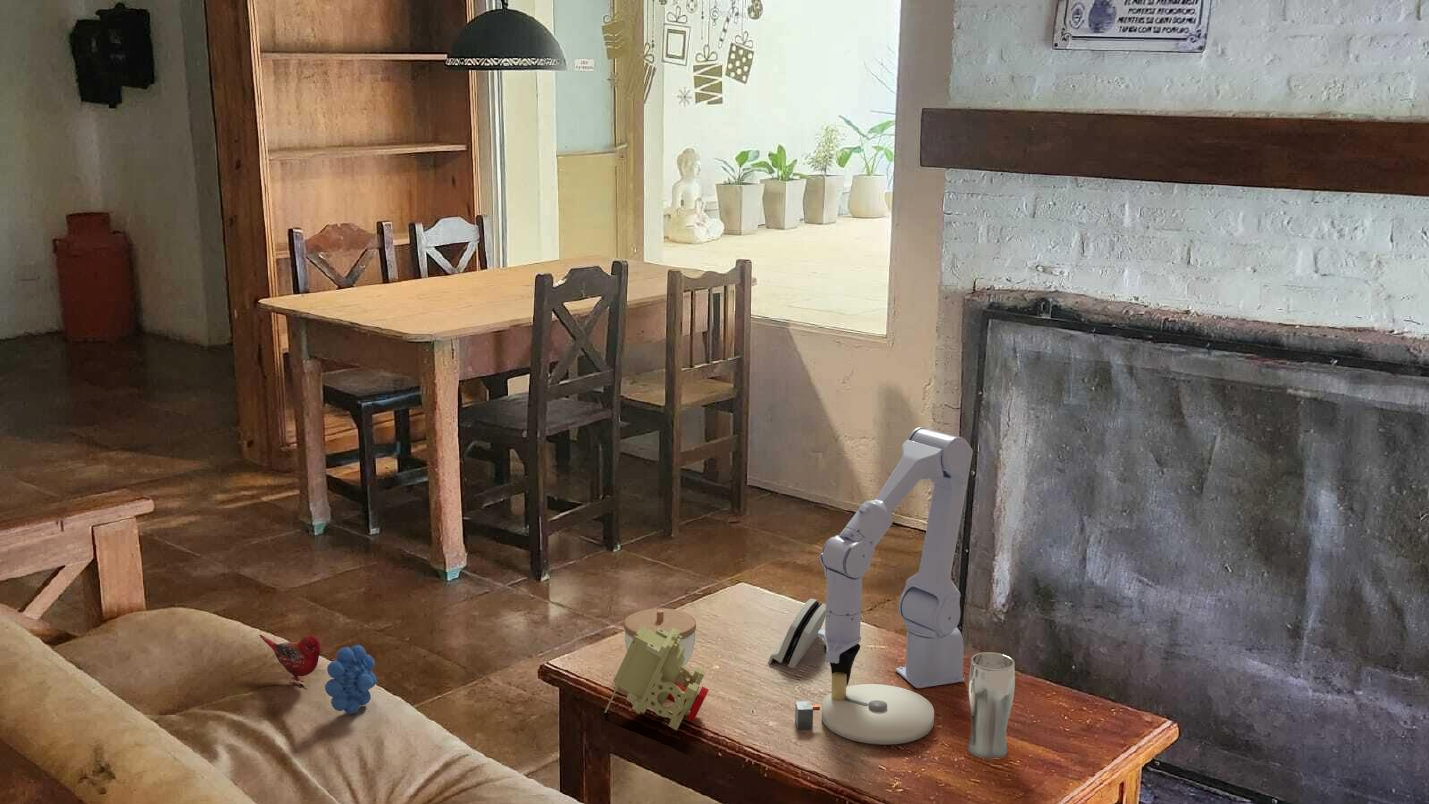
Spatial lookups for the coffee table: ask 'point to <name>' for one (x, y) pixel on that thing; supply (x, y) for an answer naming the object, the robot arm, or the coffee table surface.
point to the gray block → (804, 714)
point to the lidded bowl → (663, 626)
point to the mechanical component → (660, 676)
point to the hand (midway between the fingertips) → (840, 686)
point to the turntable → (876, 712)
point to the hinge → (800, 633)
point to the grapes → (350, 679)
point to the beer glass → (990, 703)
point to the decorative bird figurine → (297, 655)
